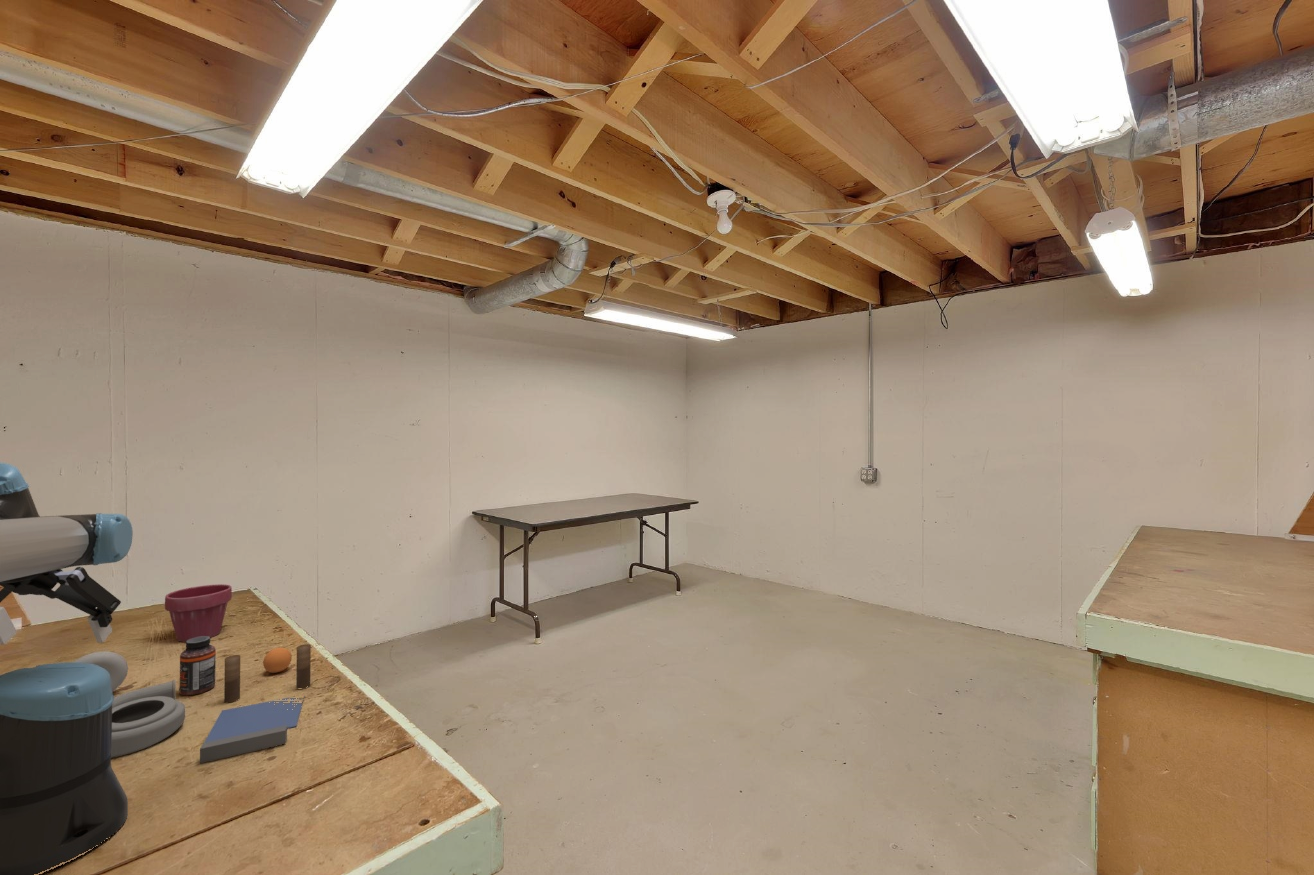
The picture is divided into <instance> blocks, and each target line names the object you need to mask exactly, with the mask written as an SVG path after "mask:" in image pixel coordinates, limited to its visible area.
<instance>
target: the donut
mask: <svg viewBox="0 0 1314 875" xmlns="http://www.w3.org/2000/svg"><path fill="white" fill-rule="evenodd" d="M73 662H80V663H90V664H95V665H98V666H100V667H102V668H104V669H105V670H107V671H108V672H109V674H110V677H111V688H112V693H114V692H115V691H116V690H117V689H118V688H119V687H120V686H121V685H122V684H123V682H124V681H125V679H126V678H127V675H128V672H129V666H128V662H127V660H126V658H125V657H124V656H123V655H121V654H119V653H117V652H113V651H108V650H107V651H105V650H104V651H94V652H92V653H91V652H90V653H88V654H85V655H82V656H80V657H79V658H77V659H75V660H73Z"/></svg>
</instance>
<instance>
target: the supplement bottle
mask: <svg viewBox="0 0 1314 875" xmlns="http://www.w3.org/2000/svg"><path fill="white" fill-rule="evenodd" d="M210 643H211V637H209V636H200V637H195V638H192V639H189V640H187V641H186V642H185V649H184V650H183V651H182V652H181V653H180V655H179V693H180V695H182V696H186V697H187V696H195V695H199V694H203V693H205V692H208V691H210V690H212V689H213V688H214V687H215V686H216V664H217V663H216V657H217V656H216V655H217V654H216V653H217V652H216V647H215V645H212V644H210Z"/></svg>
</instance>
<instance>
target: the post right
mask: <svg viewBox="0 0 1314 875" xmlns="http://www.w3.org/2000/svg"><path fill="white" fill-rule="evenodd" d="M311 646H312V645H311V644H309V643H306V644H300V645H298V646H297V647H296V676H295V677H296V683H295V684H296V685H295V686H296V687H295V688H305V689H307V688H306V687H307V686H309V687H310V686H311V661H312V660H311V658H312V657H311V655H312V654H311V652H312V651H311V649H312V648H311Z"/></svg>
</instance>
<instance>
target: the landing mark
mask: <svg viewBox="0 0 1314 875" xmlns="http://www.w3.org/2000/svg"><path fill="white" fill-rule="evenodd" d="M289 698H290V697H285V698H281V699H282V700H285V699H286V700H287V699H289ZM290 699H291V700H292V699H293V700H294V699H296V698H290ZM297 699H298V698H297ZM299 699H301V698H299ZM303 699H305V697H304V698H303ZM278 700H280V699H278ZM269 702H270V703H269ZM274 702H275V703H274ZM276 702H279V703H276ZM283 702H288V701H274V700H270V701H264V702H259V703H253V704H249V705H248V704H247V705H242V706H239V707H238V706H237V707H233V708H228V709H223V710H222V709H221V712H220V713H219V715H218V717H217V719H216V721H215V722H214V723H213V724H214V725H213V726H212V728H211V729H210V731H209V733H208V735H207V737H206V738H205V740H204V742H203V743H205V742H210V741H215V740H219V739H224V738H229V737H233V736H238V735H243V734H248V733H252V732H257V731H262V730H267V729H271V728H276V727H281V726H285V725H287V730H288V728H289V729H292V727H293V728H297V727H298V726H297V725H298V723H299V718H300V715H299V714H301V711H300V710H302V707H303V703H292V702H294V701H290V703H283ZM295 702H297V701H295ZM298 702H299V701H298ZM274 704H275V705H274ZM283 704H284V705H283ZM292 704H293V705H292ZM294 704H295V705H294ZM296 704H297V705H296ZM294 706H295V707H294ZM301 706H302V707H301ZM287 709H288V710H287ZM292 709H293V710H292Z"/></svg>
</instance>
